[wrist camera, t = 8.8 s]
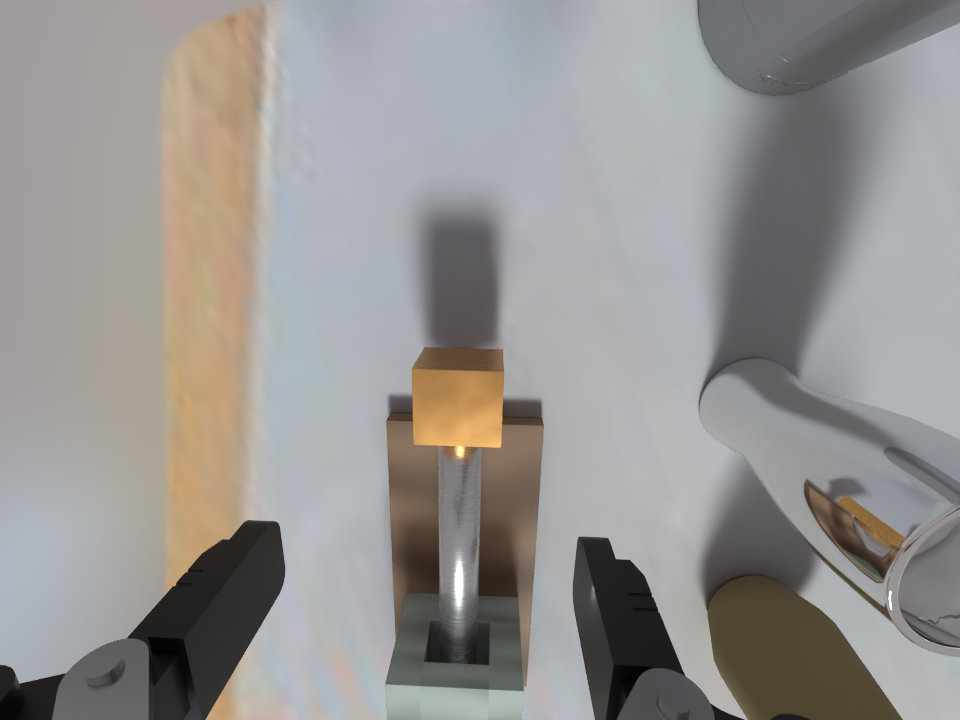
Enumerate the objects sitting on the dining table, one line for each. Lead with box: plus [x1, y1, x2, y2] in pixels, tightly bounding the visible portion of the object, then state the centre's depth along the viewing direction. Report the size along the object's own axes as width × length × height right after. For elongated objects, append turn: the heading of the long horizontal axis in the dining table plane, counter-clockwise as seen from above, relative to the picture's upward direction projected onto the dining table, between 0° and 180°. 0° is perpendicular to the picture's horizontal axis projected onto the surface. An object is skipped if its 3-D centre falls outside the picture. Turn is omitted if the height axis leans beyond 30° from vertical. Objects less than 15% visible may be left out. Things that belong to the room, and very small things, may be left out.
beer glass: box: [699, 358, 960, 657], centre depth 22 cm, size 7×7×15 cm
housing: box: [385, 413, 544, 720], centre depth 29 cm, size 22×10×8 cm, turn 179°
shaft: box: [412, 347, 504, 665], centre depth 27 cm, size 22×4×4 cm, turn 179°
